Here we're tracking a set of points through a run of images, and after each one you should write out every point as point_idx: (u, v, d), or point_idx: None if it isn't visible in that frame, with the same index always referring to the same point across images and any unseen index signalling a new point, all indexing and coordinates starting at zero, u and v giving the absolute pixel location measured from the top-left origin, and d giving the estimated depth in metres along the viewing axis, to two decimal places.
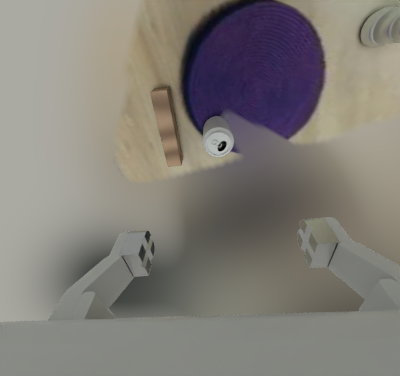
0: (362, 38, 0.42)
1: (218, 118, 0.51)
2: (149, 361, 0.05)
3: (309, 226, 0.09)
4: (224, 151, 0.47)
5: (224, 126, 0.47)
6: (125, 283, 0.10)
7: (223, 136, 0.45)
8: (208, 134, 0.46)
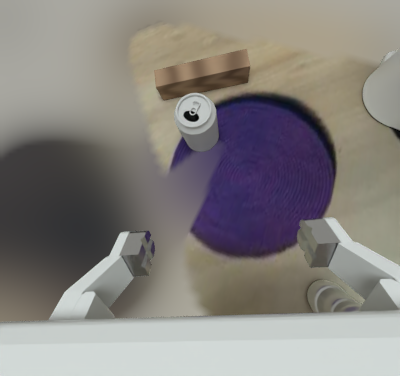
0: (315, 283, 0.35)
1: None
2: (149, 361, 0.05)
3: (309, 226, 0.09)
4: (183, 120, 0.33)
5: (215, 123, 0.35)
6: (125, 283, 0.10)
7: (205, 116, 0.33)
8: None
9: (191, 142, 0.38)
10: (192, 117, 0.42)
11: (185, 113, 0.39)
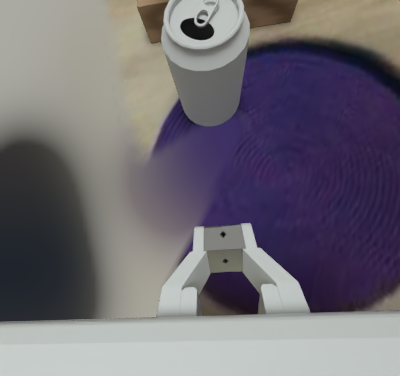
0: None
1: None
2: (149, 361, 0.05)
3: (224, 232, 0.10)
4: (179, 37, 0.15)
5: (244, 58, 0.17)
6: (205, 279, 0.09)
7: (227, 29, 0.15)
8: None
9: (192, 100, 0.20)
10: None
11: None
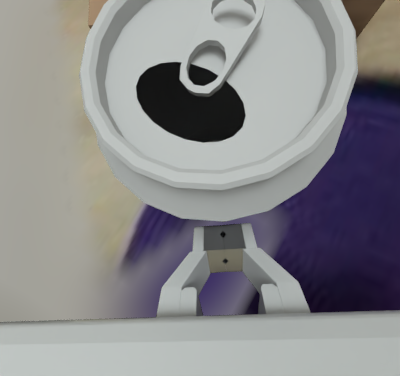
0: None
1: None
2: (149, 361, 0.05)
3: (224, 232, 0.10)
4: (131, 125, 0.05)
5: None
6: (205, 279, 0.09)
7: (292, 106, 0.04)
8: None
9: None
10: (194, 116, 0.14)
11: (170, 98, 0.11)
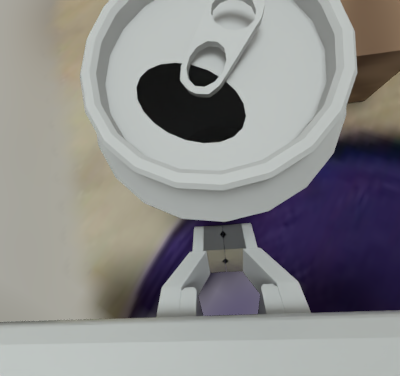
0: None
1: None
2: (149, 361, 0.05)
3: (224, 232, 0.10)
4: (132, 126, 0.05)
5: None
6: (205, 279, 0.09)
7: (292, 107, 0.04)
8: None
9: None
10: (194, 116, 0.14)
11: (170, 99, 0.11)
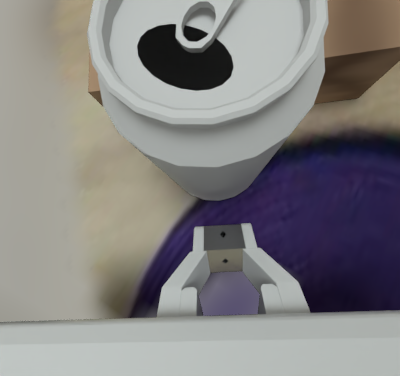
0: None
1: None
2: (149, 361, 0.05)
3: (224, 232, 0.10)
4: (133, 78, 0.05)
5: None
6: (205, 279, 0.09)
7: (273, 58, 0.05)
8: None
9: (181, 183, 0.10)
10: None
11: (168, 78, 0.11)
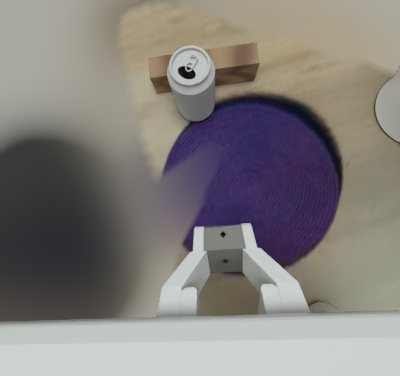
0: (313, 306, 0.34)
1: (214, 99, 0.37)
2: (149, 361, 0.05)
3: (224, 232, 0.10)
4: (177, 77, 0.29)
5: (212, 85, 0.31)
6: (205, 279, 0.09)
7: (202, 73, 0.29)
8: None
9: (184, 107, 0.34)
10: None
11: (179, 73, 0.35)
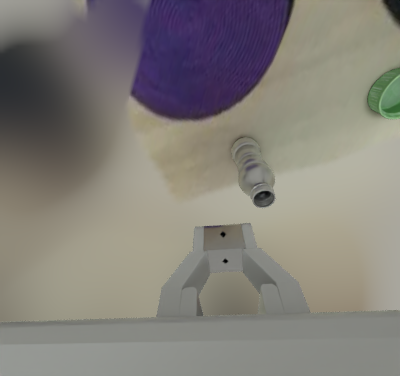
0: (238, 140, 0.44)
1: None
2: (149, 361, 0.05)
3: (224, 232, 0.10)
4: None
5: None
6: (205, 279, 0.09)
7: None
8: None
9: None
10: None
11: None
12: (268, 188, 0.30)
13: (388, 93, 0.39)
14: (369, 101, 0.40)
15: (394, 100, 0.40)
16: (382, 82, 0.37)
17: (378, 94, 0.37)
